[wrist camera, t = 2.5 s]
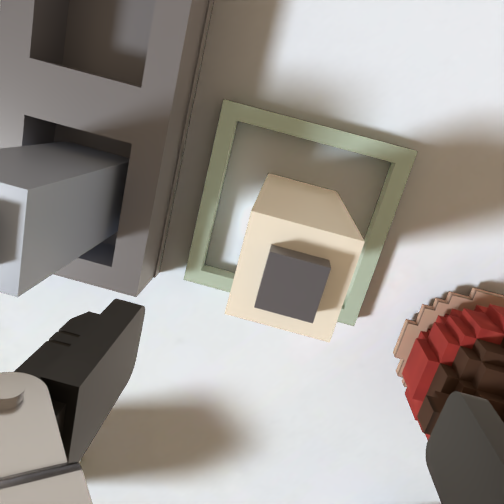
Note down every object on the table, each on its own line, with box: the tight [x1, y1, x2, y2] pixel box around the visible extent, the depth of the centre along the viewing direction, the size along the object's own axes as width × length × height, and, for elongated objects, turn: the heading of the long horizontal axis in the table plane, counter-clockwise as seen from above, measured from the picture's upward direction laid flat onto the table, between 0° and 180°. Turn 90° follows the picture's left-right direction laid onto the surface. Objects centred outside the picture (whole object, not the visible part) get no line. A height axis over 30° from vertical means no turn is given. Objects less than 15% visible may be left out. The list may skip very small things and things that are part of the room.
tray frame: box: [184, 99, 418, 326], centre depth 29 cm, size 12×12×1 cm
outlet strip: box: [0, 0, 214, 297], centre depth 26 cm, size 10×21×4 cm, turn 166°
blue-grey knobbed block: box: [0, 141, 130, 297], centre depth 23 cm, size 5×5×13 cm
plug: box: [225, 173, 365, 342], centre depth 23 cm, size 5×5×13 cm
